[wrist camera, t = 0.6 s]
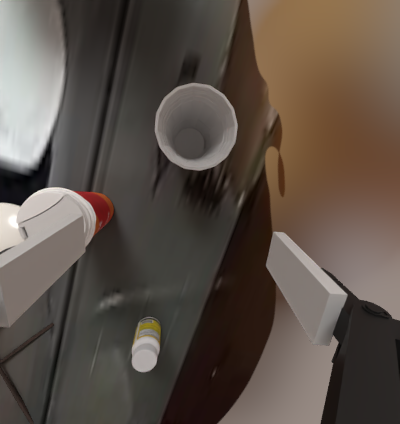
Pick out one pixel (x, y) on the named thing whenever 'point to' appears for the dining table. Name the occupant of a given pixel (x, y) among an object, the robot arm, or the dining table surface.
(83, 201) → the coffee cup
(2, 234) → the white round disc
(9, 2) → the dining table surface
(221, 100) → the plastic cup
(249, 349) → the dining table surface
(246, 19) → the dining table surface
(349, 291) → the robot arm
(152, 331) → the supplement bottle
